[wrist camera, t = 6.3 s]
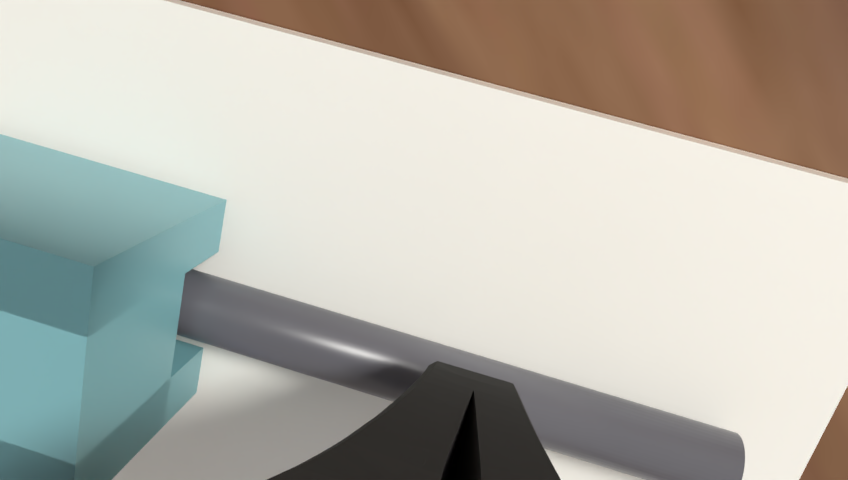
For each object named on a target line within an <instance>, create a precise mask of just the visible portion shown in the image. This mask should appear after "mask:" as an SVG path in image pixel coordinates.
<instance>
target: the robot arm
mask: <svg viewBox="0 0 848 480" xmlns="http://www.w3.org/2000/svg"><path fill="white" fill-rule="evenodd" d="M267 480H561V479H560V477H559V475H558V474H557V472H556V470H555V468H554V466H553V464H552V462H551V461H550V459H549V457H548V455H547V453H546V451H545V449H544V448H543V446H542V444H541V442H540V440H539V438H538V436H537V434H536V431H535V429H534V427H533V425H532V423H531V421H530V419H529V416H528V414H527V412H526V410H525V407H524V405H523V403H522V401H521V398H520V396H519V394H518V392H517V390H516V388H515V386H514V384H513V383H510V382H507V381H504V380H500V379H497V378H493V377H490V376H487V375H483V374H480V373H477V372H473V371H470V370H466V369H463V368H460V367H456V366H453V365H450V364H446V363H443V362H439V361H436V362H434V363H432V364H430V365H429V366H428V367H427V369H426V370H425V371H424V373H423V374H422V375H421V376H420V377H419V378H418V379H417V380H416V381H415V383H414V384H412V385H411V386H410V387H409V388H408V389H407V390H406V391H405V392H404V393H403V394H402V395H401V396H400V397H398V398H397V399H396V400H395V401H394V402H393V403H391V404H390V405H389V406H388V407H387V408H385V409H384V410H383V411H382V412H381V413H379V414H378V415H377V416H376V417H374V418H373V419H371V420H370V421H369V422H367V423H366V424H364V425H363V426H361V427H360V428H359V429H357V430H356V431H354V432H353V433H352V434H350V435H349V436H347V437H346V438H344V439H343V440H341V441H340V442H338V443H336V444H335V445H333V446H331V447H330V448H328V449H326V450H325V451H323V452H321V453H320V454H318V455H316V456H314V457H312V458H310V459H308V460H307V461H305V462H303V463H301V464H299V465H297V466H295V467H293V468H291V469H289V470H286V471H284V472H282V473H280V474H278V475H276V476H273V477H271V478H269V479H267Z"/></svg>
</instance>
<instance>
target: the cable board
mask: <svg viewBox="0 0 848 480" xmlns="http://www.w3.org/2000/svg"><path fill="white" fill-rule="evenodd" d="M0 134H2V135H5V136H9V137H12V138H16V139H19V140H23V141H26V142H30V143H33V144H36V145H40V146H43V147H47V148H50V149H54V150H57V151H60V152H64V153H67V154H71V155H74V156H78V157H81V158H85V159H88V160H91V161H95V162H98V163H102V164H105V165H109V166H112V167H116V168H119V169H122V170H126V171H129V172H133V173H136V174H140V175H143V176H146V177H150V178H153V179H157V180H160V181H164V182H167V183H171V184H174V185H177V186H181V187H184V188H188V189H191V190H195V191H198V192H202V193H205V194H208V195H212V196H215V197H219V198H222V199H226V200H227V201H226V207H225V213H224V220H223V226H222V233H221V239H220V245H219V252H217V253H216V254H214V255H213V256H211V257H210V258H208V259H207V260H205V261H204V262H202V263H201V264H199V265H197V266H196V267H194V268H193V269H191V270H190V271H188V272H187V273H185V279H184V286H183V293H182V300H181V307H180V314H179V321H178V329H177V336H176V340H180V341H183V342H186V343H189V344H193V345H196V346H199V347H202V348H203V354H202V361H201V367H200V373H199V380H198V386H197V392H196V394H195V395H194V396H193V397H192V398H191V399H190V400H189V401H188V402H187V403H186V404H185V405H184V406H183V407H182V408H181V409H180V410H179V411H178V412H177V413H176V414H175V415H174V416H173V417H172V418H171V419H170V420H169V421H168V422H167V423H166V424H165V425H164V426H163V427H162V428H161V429H160V431H159V432H158V433H157V434H156V435H155V436H154V437H153V438H152V439H151V440H150V441H149V442H148V443H147V444H146V445H145V446H144V447H143V448H142V449H141V450H140V451H139V452H138V453H137V454H136V455H135V456H134V457H133V458H132V459H131V460H130V461H129V462H128V463H127V464H126V465H125V466H124V468H123V469H122V470H121V471H120V472H119V473H118V474H117V475H116V476H115V477H114V478H113V479H112V480H267V479H269V478H271V477H273V476H276V475H278V474H280V473H282V472H284V471H286V470H289V469H291V468H293V467H295V466H297V465H299V464H301V463H303V462H305V461H307V460H308V459H310V458H312V457H314V456H316V455H318V454H320V453H321V452H323V451H325V450H326V449H328V448H330V447H331V446H333V445H335V444H336V443H338V442H340V441H341V440H343V439H344V438H346V437H347V436H349V435H350V434H352V433H353V432H354V431H356V430H357V429H359V428H360V427H361V426H363V425H364V424H366V423H367V422H369V421H370V420H371V419H373V418H374V417H376V416H377V415H378V414H379V413H381V412H382V411H383V410H384V409H385V408H387V407H388V406H389V405H390V404H391V403H393V402H394V401H395V400H396V399H397V398H398V397H400V396H401V395H402V394H403V393H404V392H405V391H406V390H407V389H408V388H409V387H410V386H411V385H412V384H414V383H415V381H416V380H417V379H418V378H419V377H420V376H421V375H422V374H423V373H424V371H425V370H426V369H427V367H428V366H429V365H430V364H432V363H434V362H436V361H439V362H443V363H446V364H450V365H453V366H456V367H460V368H463V369H466V370H470V371H473V372H477V373H480V374H483V375H487V376H490V377H493V378H497V379H500V380H504V381H507V382H510V383H513V384H514V386H515V388H516V390H517V392H518V394H519V396H520V398H521V401H522V403H523V405H524V407H525V410H526V412H527V414H528V416H529V419H530V421H531V423H532V425H533V427H534V429H535V431H536V434H537V436H538V438H539V440H540V442H541V444H542V446H543V448H544V449H545V451H546V453H547V455H548V457H549V459H550V461H551V462H552V464H553V466H554V468H555V470H556V472H557V474H558V475H559V477H560V479H561V480H799V479H800V477H801V475H802V473H803V471H804V469H805V467H806V465H807V463H808V461H809V459H810V457H811V455H812V454H813V452H814V450H815V448H816V446H817V444H818V442H819V440H820V438H821V436H822V434H823V432H824V430H825V428H826V426H827V425H828V423H829V421H830V419H831V417H832V415H833V413H834V411H835V409H836V407H837V405H838V403H839V401H840V399H841V397H842V395H843V394H844V392H845V390H846V388H847V386H848V178H844V177H840V176H836V175H833V174H829V173H825V172H821V171H818V170H814V169H810V168H806V167H803V166H799V165H795V164H791V163H788V162H784V161H780V160H776V159H773V158H769V157H765V156H761V155H758V154H754V153H750V152H746V151H743V150H739V149H735V148H731V147H728V146H724V145H720V144H716V143H713V142H709V141H705V140H701V139H698V138H694V137H690V136H686V135H683V134H679V133H675V132H671V131H668V130H664V129H660V128H656V127H653V126H649V125H645V124H641V123H638V122H634V121H630V120H626V119H623V118H619V117H615V116H611V115H608V114H604V113H600V112H596V111H593V110H589V109H585V108H581V107H578V106H574V105H570V104H567V103H563V102H559V101H555V100H552V99H548V98H544V97H540V96H537V95H533V94H529V93H525V92H522V91H518V90H514V89H510V88H507V87H503V86H499V85H495V84H492V83H488V82H484V81H480V80H477V79H473V78H469V77H465V76H462V75H458V74H454V73H450V72H447V71H443V70H439V69H435V68H432V67H428V66H424V65H420V64H417V63H413V62H409V61H405V60H402V59H398V58H394V57H390V56H387V55H383V54H379V53H375V52H372V51H368V50H364V49H360V48H357V47H353V46H349V45H345V44H342V43H338V42H334V41H330V40H327V39H323V38H319V37H315V36H312V35H308V34H304V33H300V32H297V31H293V30H289V29H285V28H282V27H278V26H274V25H270V24H267V23H263V22H259V21H255V20H252V19H248V18H244V17H240V16H237V15H233V14H229V13H226V12H222V11H218V10H214V9H211V8H207V7H203V6H199V5H196V4H192V3H188V2H184V1H181V0H0Z"/></svg>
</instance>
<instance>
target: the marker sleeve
mask: <svg viewBox="0 0 848 480" xmlns="http://www.w3.org/2000/svg"><path fill="white" fill-rule="evenodd" d="M226 201H227V200H226V199H222V198H219V197H215V196H212V195H208V194H205V193H202V192H198V191H195V190H191V189H188V188H184V187H181V186H177V185H174V184H171V183H167V182H164V181H160V180H157V179H153V178H150V177H146V176H143V175H140V174H136V173H133V172H129V171H126V170H122V169H119V168H116V167H112V166H109V165H105V164H102V163H98V162H95V161H91V160H88V159H85V158H81V157H78V156H74V155H71V154H67V153H64V152H60V151H57V150H54V149H50V148H47V147H43V146H40V145H36V144H33V143H30V142H26V141H23V140H19V139H16V138H12V137H9V136H5V135H2V134H0V480H112V479H113V478H114V477H115V476H116V475H117V474H118V473H119V472H120V471H121V470H122V469H123V468H124V466H125V465H126V464H127V463H128V462H129V461H130V460H131V459H132V458H133V457H134V456H135V455H136V454H137V453H138V452H139V451H140V450H141V449H142V448H143V447H144V446H145V445H146V444H147V443H148V442H149V441H150V440H151V439H152V438H153V437H154V436H155V435H156V434H157V433H158V432H159V431H160V429H161V428H162V427H163V426H164V425H165V424H166V423H167V422H168V421H169V420H170V419H171V418H172V417H173V416H174V415H175V414H176V413H177V412H178V411H179V410H180V409H181V408H182V407H183V406H184V405H185V404H186V403H187V402H188V401H189V400H190V399H191V398H192V397H193V396H194V395H195V394H196V392H197V386H198V380H199V373H200V367H201V361H202V354H203V348H202V347H199V346H196V345H193V344H189V343H186V342H183V341H180V340H176V336H177V329H178V321H179V314H180V307H181V300H182V293H183V286H184V279H185V273H187V272H188V271H190V270H191V269H193V268H194V267H196V266H197V265H199V264H201V263H202V262H204V261H205V260H207V259H208V258H210V257H211V256H213V255H214V254H216V253H217V252H219V245H220V239H221V233H222V226H223V220H224V213H225V207H226Z"/></svg>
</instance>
